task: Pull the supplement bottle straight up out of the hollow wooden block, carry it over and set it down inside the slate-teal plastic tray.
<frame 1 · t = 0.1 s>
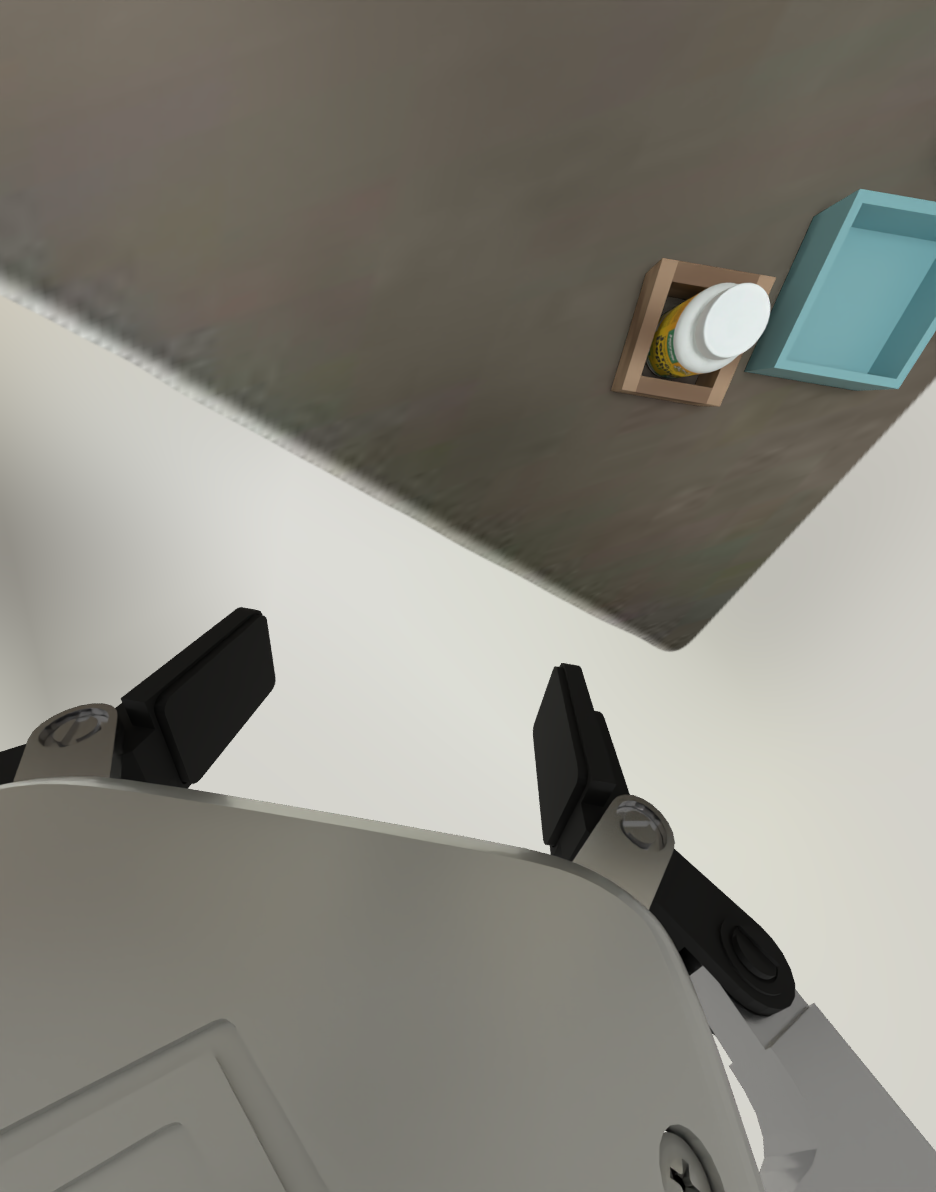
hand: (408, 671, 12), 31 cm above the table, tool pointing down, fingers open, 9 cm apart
tray: (836, 310, 30), on the table
hollow wooden block: (674, 344, 32), on the table
supplement bottle: (673, 344, 32), resting in hollow wooden block
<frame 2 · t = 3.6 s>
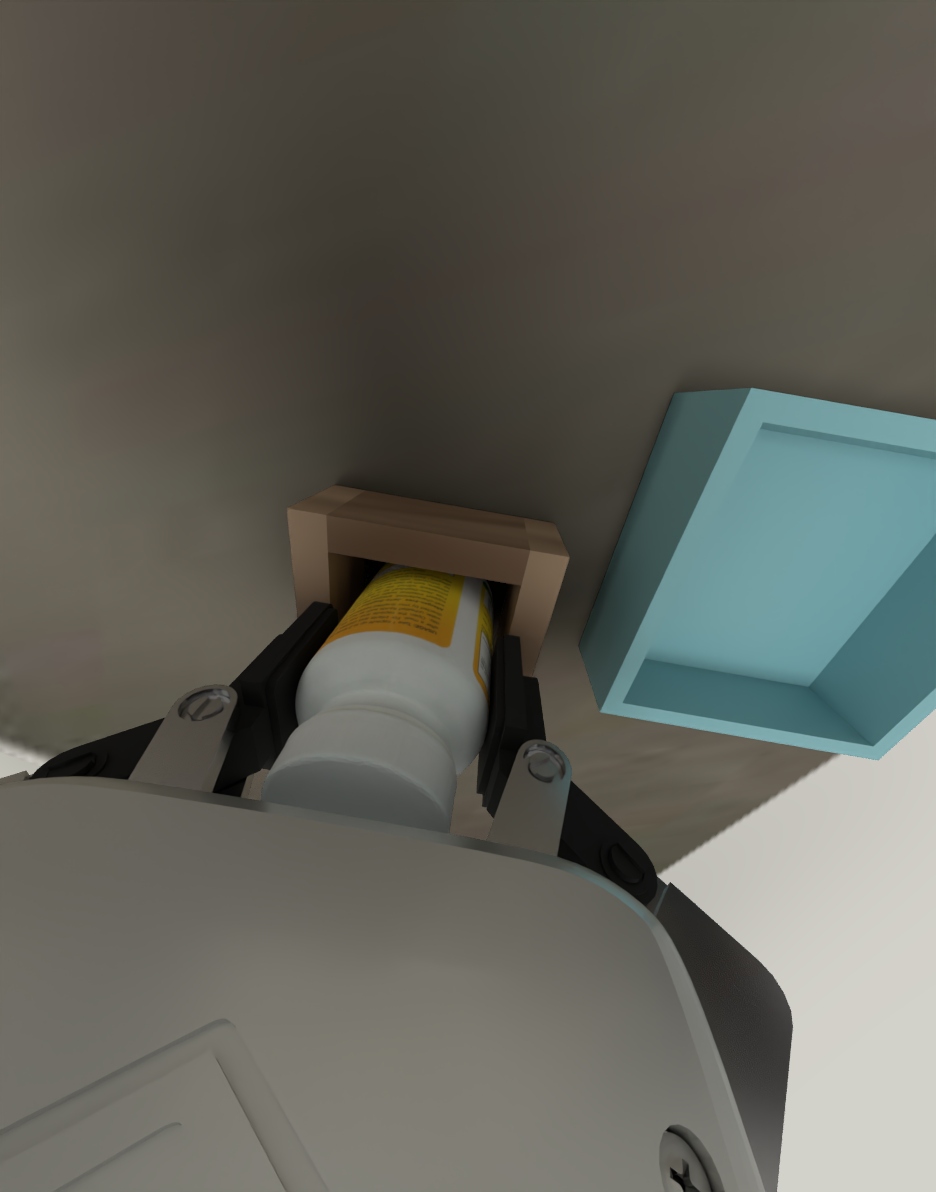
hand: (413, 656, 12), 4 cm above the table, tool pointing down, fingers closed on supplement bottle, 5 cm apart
tray: (746, 564, 14), on the table
hollow wooden block: (433, 599, 16), on the table
supplement bottle: (433, 597, 16), resting in hollow wooden block, touching gripper
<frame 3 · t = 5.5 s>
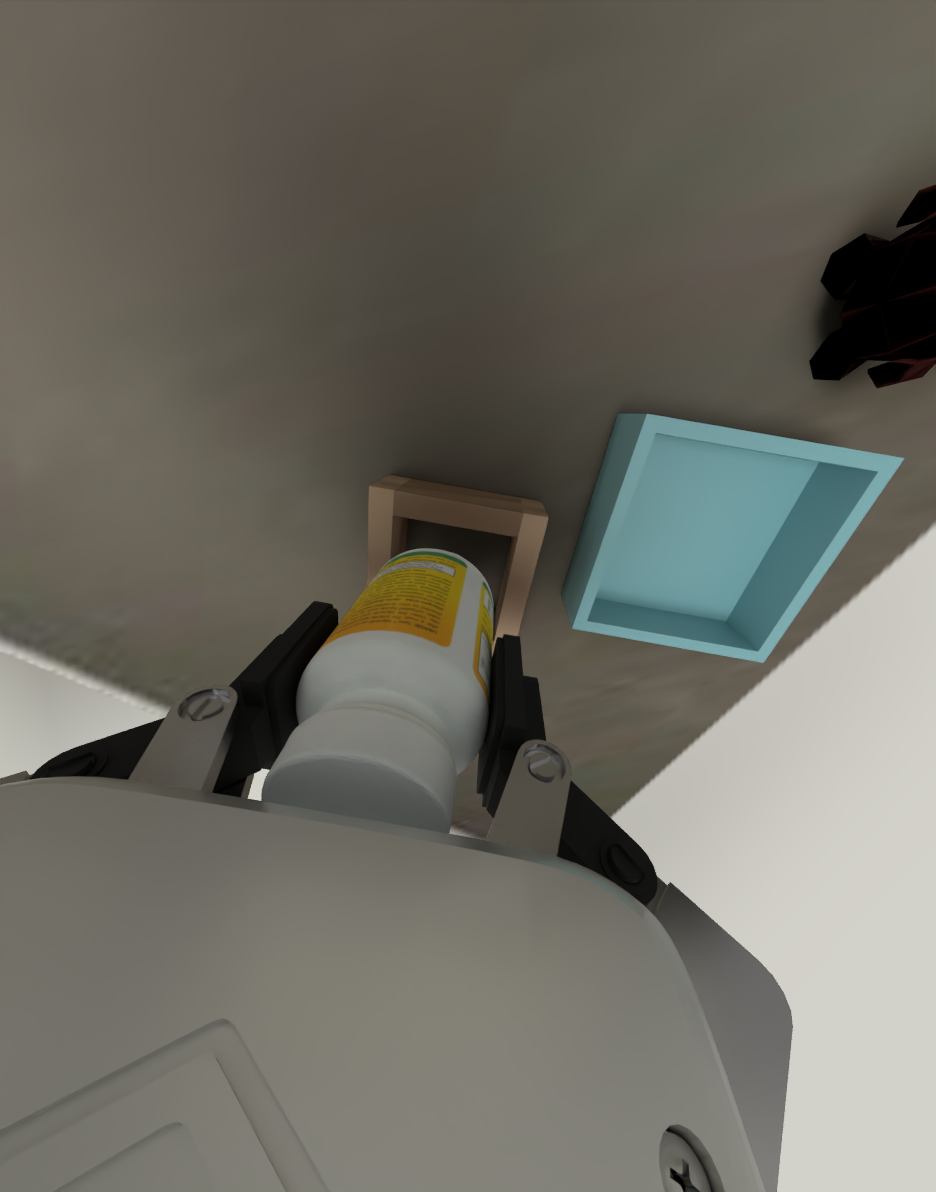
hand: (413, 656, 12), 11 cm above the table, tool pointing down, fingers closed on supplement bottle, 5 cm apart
cat figurine: (865, 307, 15), on the table
tray: (675, 530, 20), on the table
hollow wooden block: (455, 558, 22), on the table
supplement bottle: (433, 598, 16), point 6 cm above the table, touching gripper
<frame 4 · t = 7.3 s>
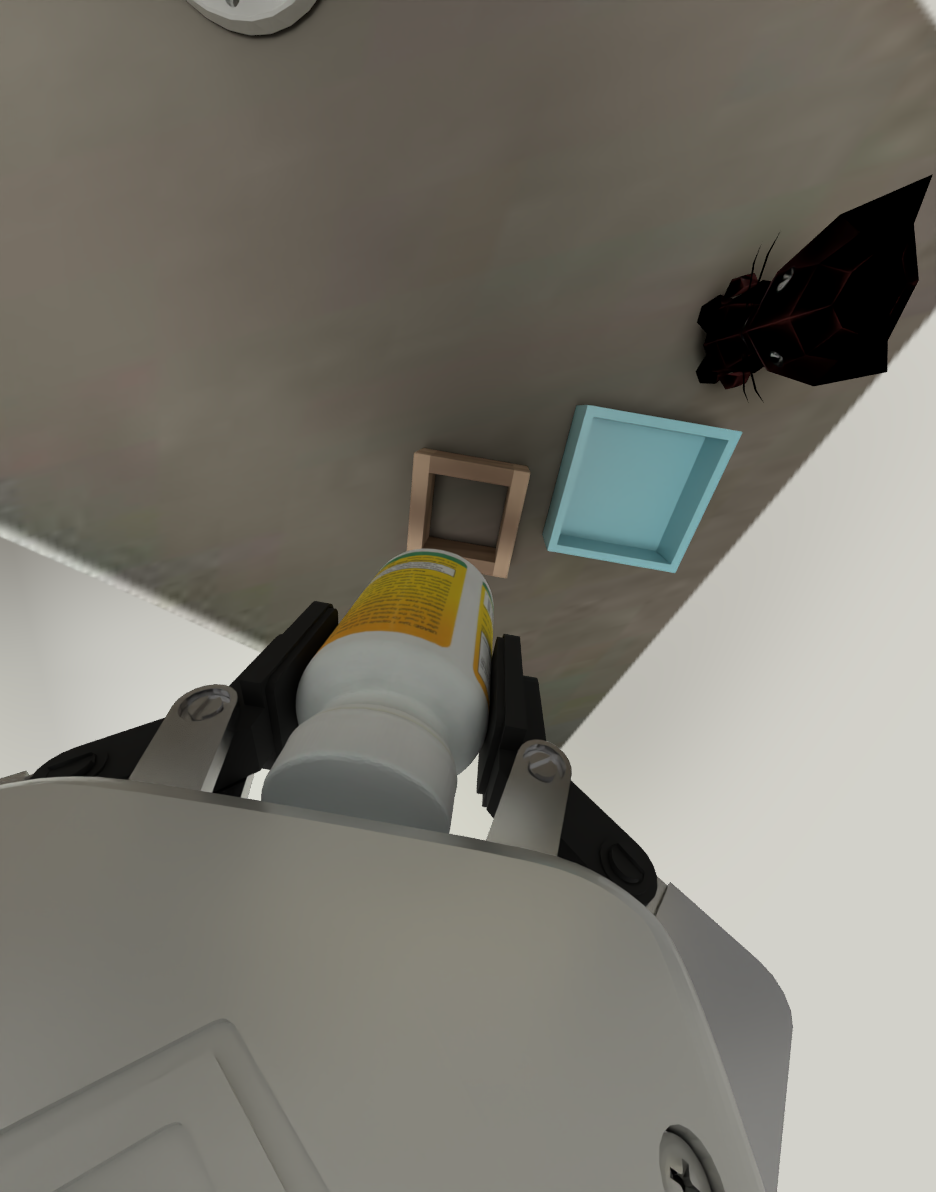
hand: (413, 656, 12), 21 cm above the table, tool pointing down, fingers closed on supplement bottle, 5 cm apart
cat figurine: (727, 338, 24), on the table
tray: (619, 486, 29), on the table
hollow wooden block: (467, 508, 31), on the table
supplement bottle: (433, 598, 16), point 17 cm above the table, touching gripper
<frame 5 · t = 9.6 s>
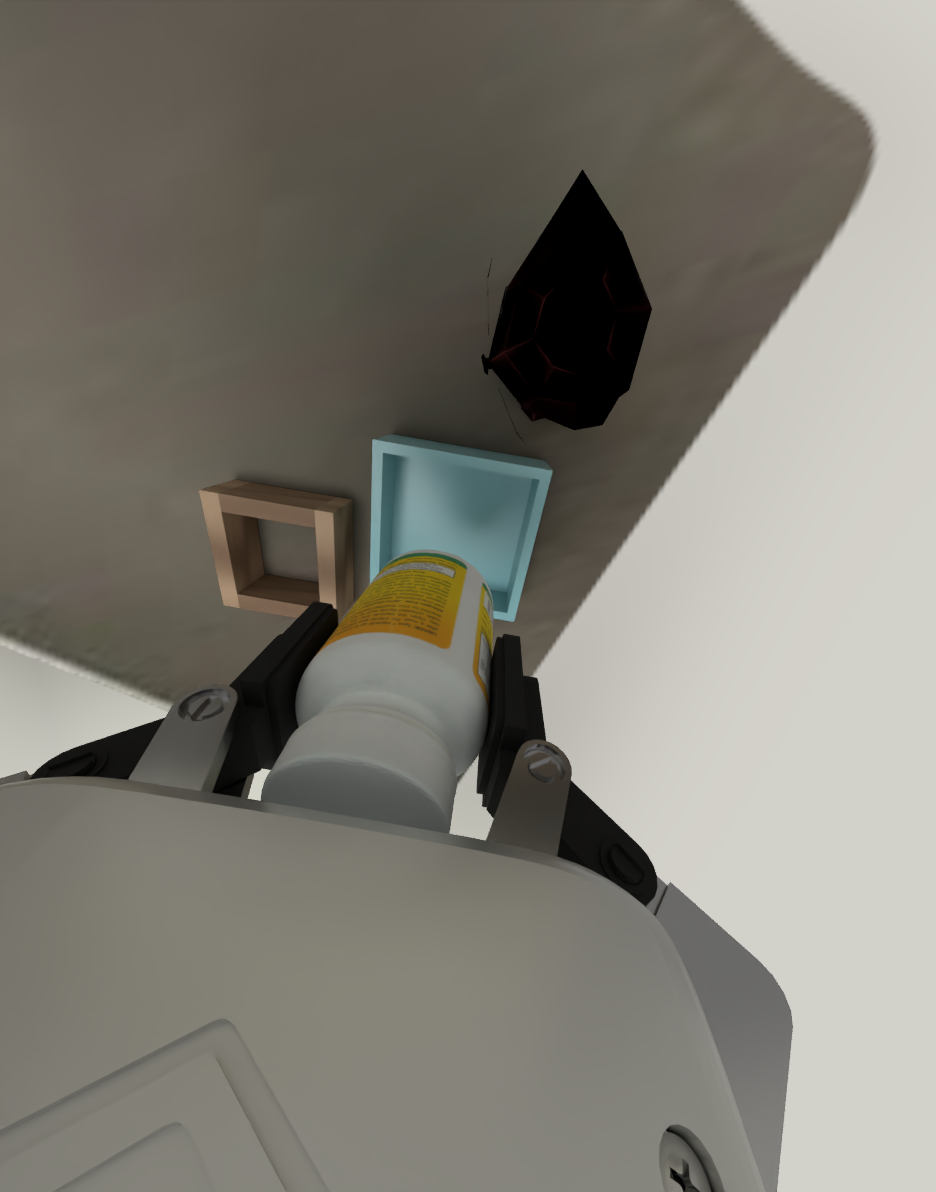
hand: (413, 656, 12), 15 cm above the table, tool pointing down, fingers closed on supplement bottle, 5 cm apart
cat figurine: (545, 359, 21), on the table
tray: (457, 522, 26), on the table
hollow wooden block: (298, 545, 28), on the table
supplement bottle: (433, 599, 16), point 11 cm above the table, touching gripper
when the fingers open (7 cm above the table, at t = 11.4 s): supplement bottle drops 2 cm, resting on tray.
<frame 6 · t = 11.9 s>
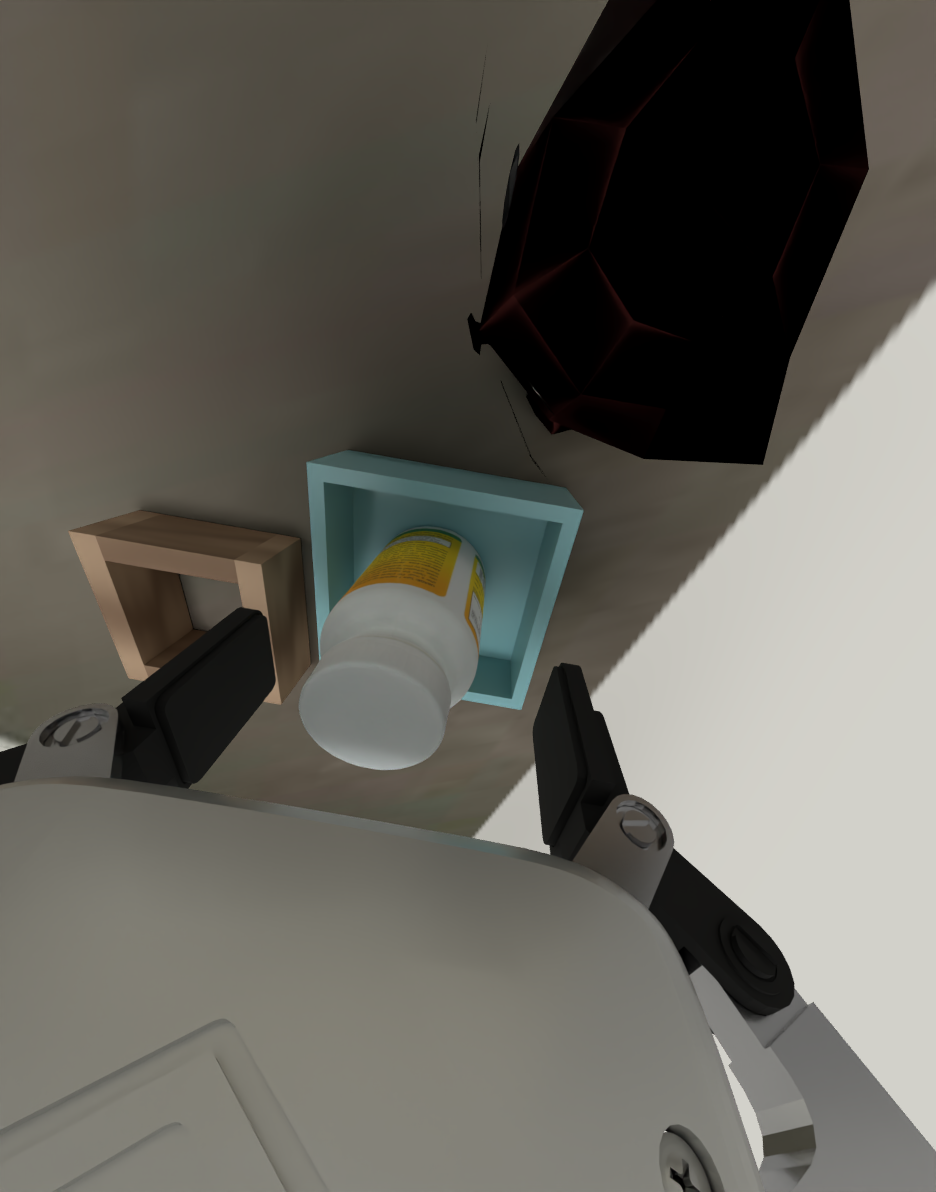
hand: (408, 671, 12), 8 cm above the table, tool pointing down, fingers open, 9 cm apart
cat figurine: (569, 341, 14), on the table
tray: (444, 568, 19), on the table
hollow wooden block: (233, 594, 21), on the table
supplement bottle: (433, 572, 18), point 1 cm above the table, touching tray
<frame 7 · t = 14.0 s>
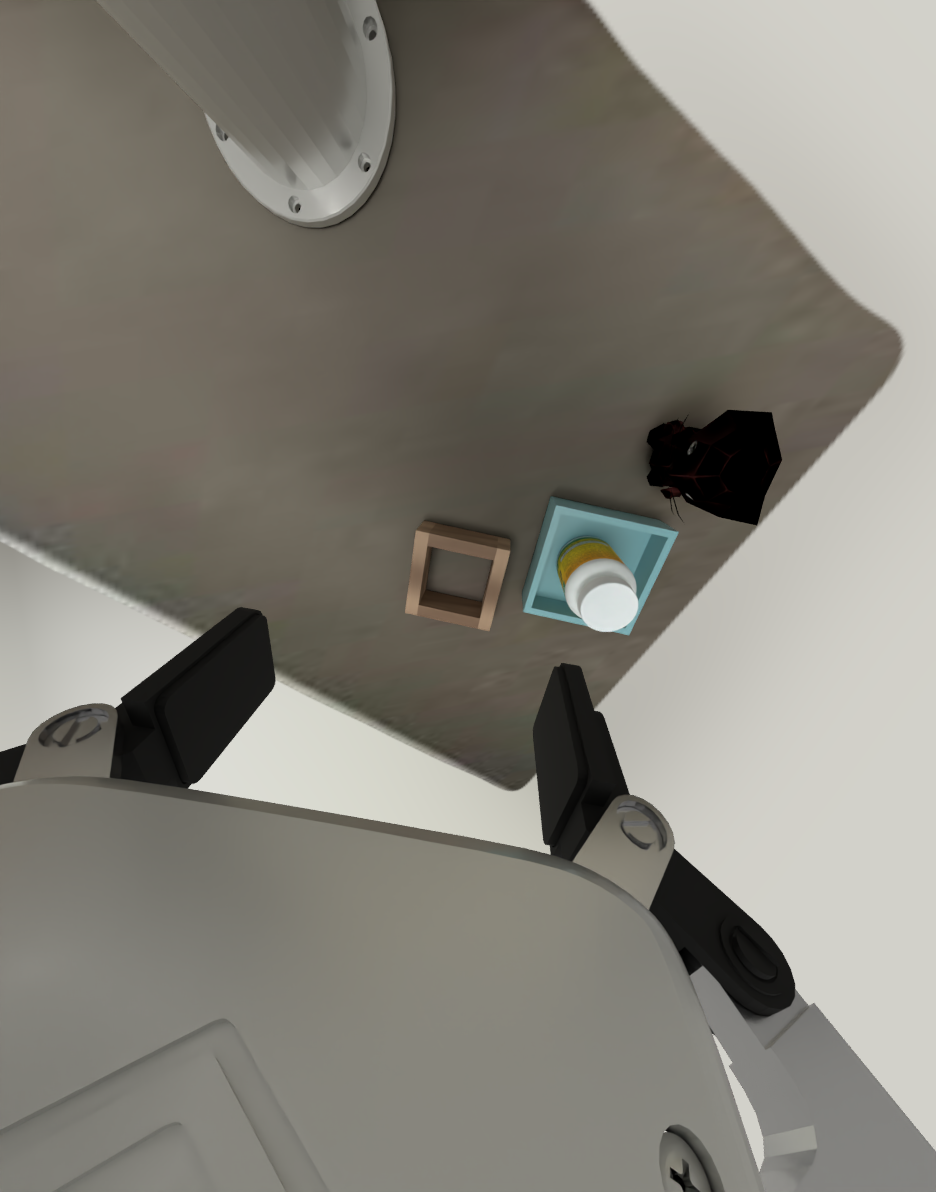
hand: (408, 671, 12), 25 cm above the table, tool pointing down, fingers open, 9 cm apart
cat figurine: (670, 454, 30), on the table
tray: (586, 559, 35), on the table
hollow wooden block: (459, 569, 36), on the table
supplement bottle: (583, 560, 34), point 1 cm above the table, touching tray
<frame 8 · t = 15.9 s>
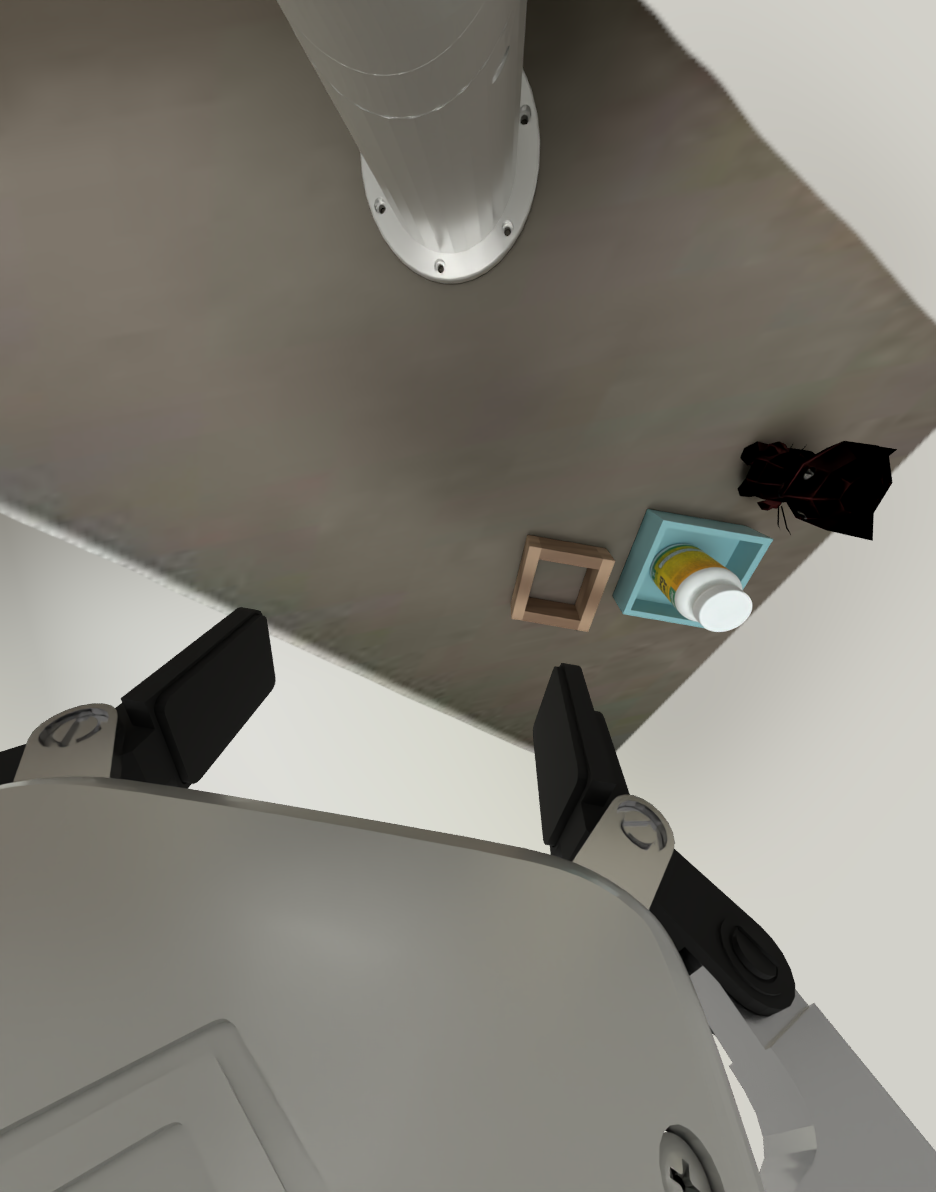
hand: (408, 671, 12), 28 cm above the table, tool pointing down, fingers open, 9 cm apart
cat figurine: (761, 467, 33), on the table
tray: (675, 563, 38), on the table
hollow wooden block: (555, 577, 40), on the table
supplement bottle: (674, 565, 38), point 1 cm above the table, touching tray
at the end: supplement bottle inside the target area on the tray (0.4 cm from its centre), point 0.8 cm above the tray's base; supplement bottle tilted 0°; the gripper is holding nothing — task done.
